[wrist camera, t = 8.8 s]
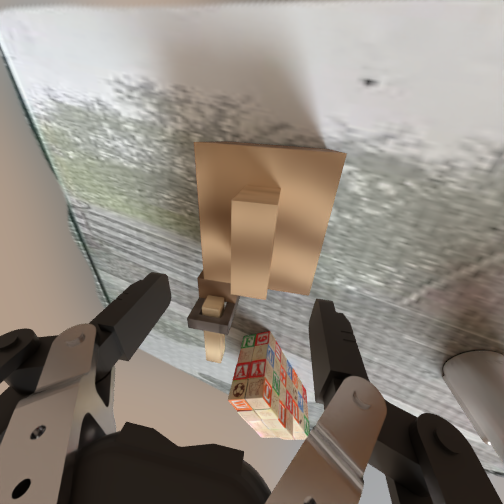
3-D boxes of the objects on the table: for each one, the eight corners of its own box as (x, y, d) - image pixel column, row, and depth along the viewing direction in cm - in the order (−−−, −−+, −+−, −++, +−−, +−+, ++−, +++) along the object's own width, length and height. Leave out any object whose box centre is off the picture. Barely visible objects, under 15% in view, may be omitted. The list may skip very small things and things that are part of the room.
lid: (307, 281, 24) (313, 333, 18) (211, 267, 25) (184, 310, 19) (339, 151, 17) (369, 158, 11) (205, 141, 18) (159, 142, 12)
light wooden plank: (224, 349, 29) (220, 363, 27) (211, 347, 29) (206, 360, 27) (224, 297, 24) (219, 309, 22) (208, 294, 24) (201, 307, 22)
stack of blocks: (307, 389, 48) (311, 461, 37) (282, 391, 50) (280, 460, 39) (269, 329, 40) (262, 399, 29) (242, 335, 42) (226, 401, 31)
